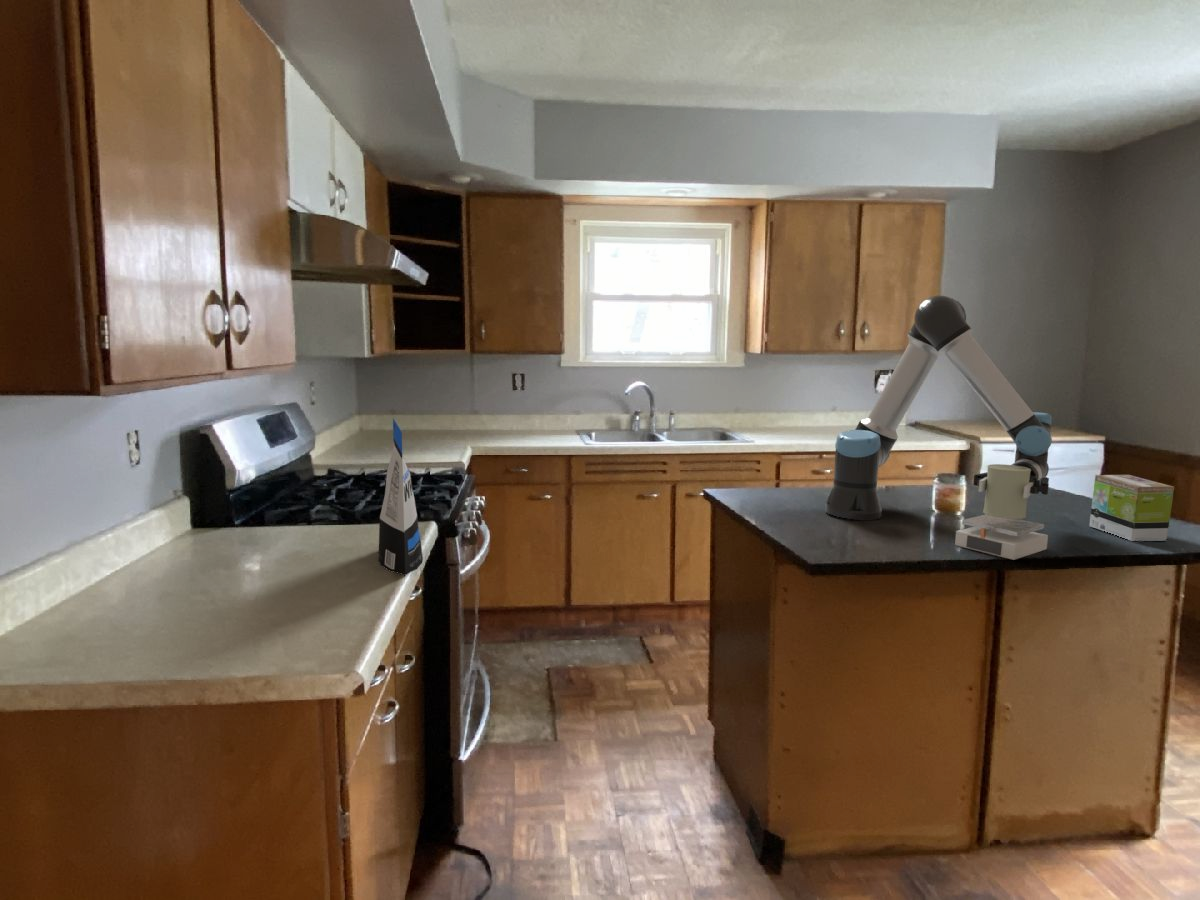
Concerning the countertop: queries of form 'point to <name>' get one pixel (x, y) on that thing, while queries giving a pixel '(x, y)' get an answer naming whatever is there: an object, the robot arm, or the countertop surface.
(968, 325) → the robot arm
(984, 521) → the scale pan
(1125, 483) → the tea box
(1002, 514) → the can
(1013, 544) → the scale
